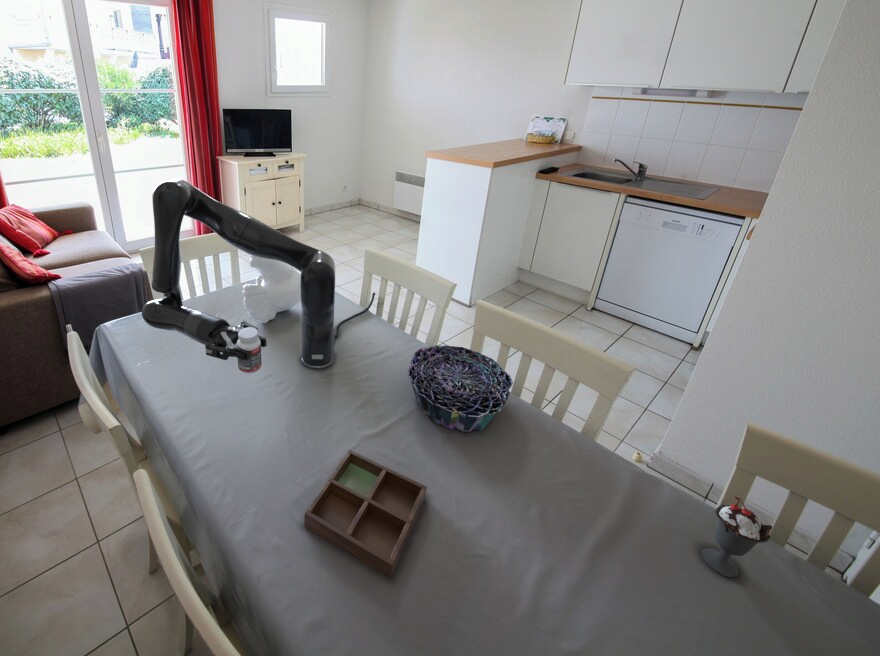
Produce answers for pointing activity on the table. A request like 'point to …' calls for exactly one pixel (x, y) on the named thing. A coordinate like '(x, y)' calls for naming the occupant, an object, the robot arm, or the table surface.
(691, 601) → the table surface
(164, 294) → the robot arm
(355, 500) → the grid
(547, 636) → the table surface
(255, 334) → the pill bottle
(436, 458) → the table surface
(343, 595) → the table surface
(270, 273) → the decorative rooster
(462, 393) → the decorative bowl
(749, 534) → the sundae
